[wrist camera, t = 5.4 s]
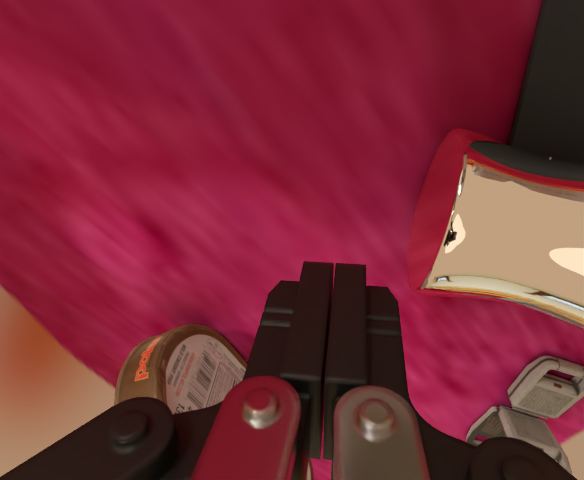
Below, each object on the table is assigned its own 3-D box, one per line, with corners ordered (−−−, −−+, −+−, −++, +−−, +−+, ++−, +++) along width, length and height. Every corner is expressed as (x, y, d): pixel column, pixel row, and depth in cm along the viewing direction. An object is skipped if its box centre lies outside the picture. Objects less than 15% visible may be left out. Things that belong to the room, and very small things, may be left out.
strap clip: (540, 348, 22) (574, 419, 19) (593, 365, 22) (637, 439, 19) (460, 436, 27) (475, 506, 23) (504, 450, 27) (526, 522, 23)
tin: (155, 306, 24) (70, 440, 17) (196, 288, 23) (124, 424, 16) (289, 453, 30) (267, 598, 23) (327, 444, 29) (317, 594, 22)
